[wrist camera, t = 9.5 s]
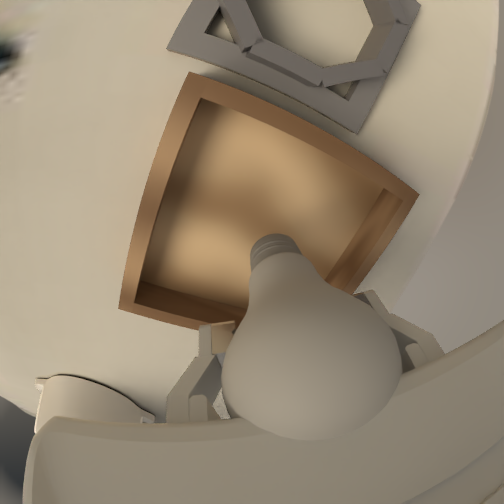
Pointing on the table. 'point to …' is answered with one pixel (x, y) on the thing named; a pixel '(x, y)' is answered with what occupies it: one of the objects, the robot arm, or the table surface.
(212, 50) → the socket
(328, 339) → the lightbulb
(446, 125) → the table surface
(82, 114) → the table surface
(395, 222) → the tray
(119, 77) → the table surface
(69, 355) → the table surface
